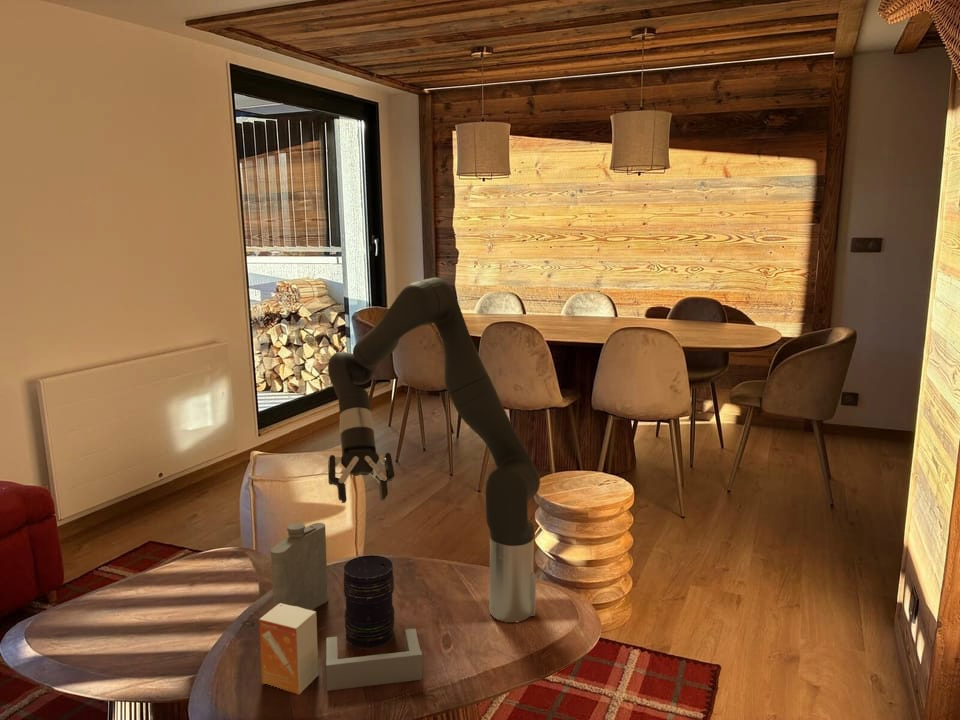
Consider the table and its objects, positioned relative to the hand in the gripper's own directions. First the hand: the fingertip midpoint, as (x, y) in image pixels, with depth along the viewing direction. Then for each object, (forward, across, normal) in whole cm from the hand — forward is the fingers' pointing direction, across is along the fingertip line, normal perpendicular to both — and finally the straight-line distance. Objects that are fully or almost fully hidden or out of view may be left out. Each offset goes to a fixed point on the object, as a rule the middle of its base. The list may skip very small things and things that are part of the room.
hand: (364, 500), depth 158 cm
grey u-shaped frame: (+34, -3, -7) cm, 35 cm away
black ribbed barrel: (+28, -1, +2) cm, 28 cm away
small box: (+34, -18, -5) cm, 39 cm away
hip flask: (+20, -13, +13) cm, 27 cm away
